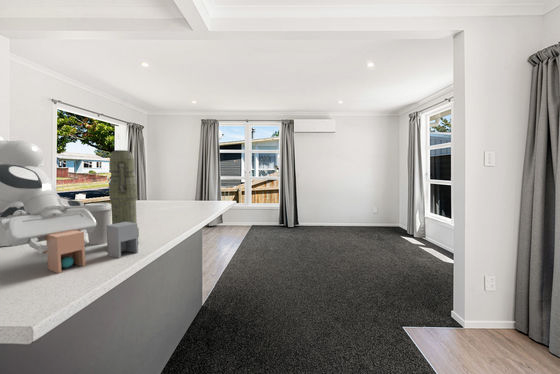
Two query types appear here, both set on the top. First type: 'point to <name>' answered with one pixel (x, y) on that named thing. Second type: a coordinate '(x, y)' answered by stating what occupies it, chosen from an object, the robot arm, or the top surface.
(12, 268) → the top surface
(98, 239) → the coffee cup
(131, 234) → the light gray boxy block
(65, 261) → the teal ball
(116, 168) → the thermos
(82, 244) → the tan block
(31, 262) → the top surface
